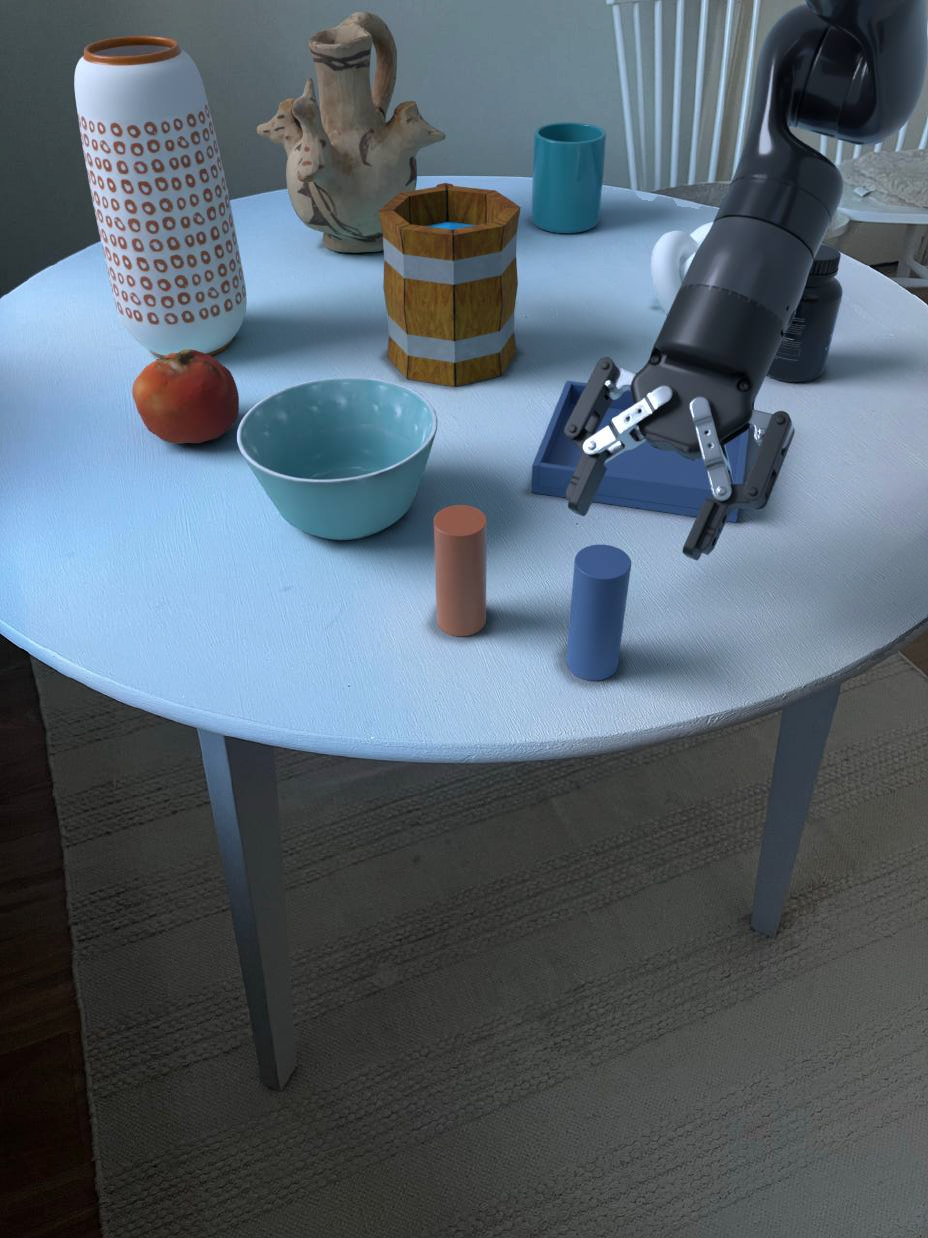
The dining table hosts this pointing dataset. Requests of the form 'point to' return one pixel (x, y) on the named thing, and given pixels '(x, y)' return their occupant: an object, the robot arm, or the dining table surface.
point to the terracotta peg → (460, 569)
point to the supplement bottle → (811, 322)
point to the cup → (567, 176)
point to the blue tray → (630, 466)
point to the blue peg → (597, 611)
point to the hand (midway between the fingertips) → (631, 533)
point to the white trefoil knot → (674, 262)
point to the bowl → (340, 453)
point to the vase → (160, 195)
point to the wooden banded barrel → (450, 283)
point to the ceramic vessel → (349, 136)
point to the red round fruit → (186, 397)
